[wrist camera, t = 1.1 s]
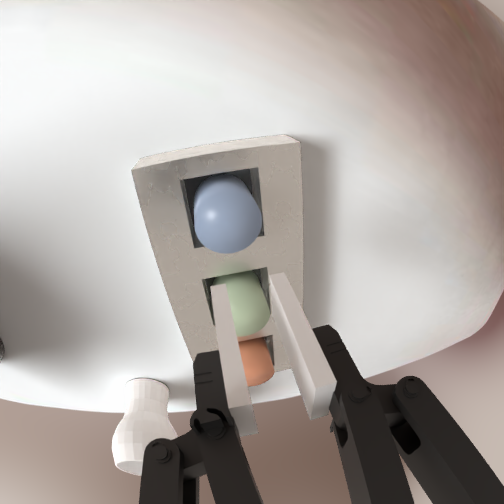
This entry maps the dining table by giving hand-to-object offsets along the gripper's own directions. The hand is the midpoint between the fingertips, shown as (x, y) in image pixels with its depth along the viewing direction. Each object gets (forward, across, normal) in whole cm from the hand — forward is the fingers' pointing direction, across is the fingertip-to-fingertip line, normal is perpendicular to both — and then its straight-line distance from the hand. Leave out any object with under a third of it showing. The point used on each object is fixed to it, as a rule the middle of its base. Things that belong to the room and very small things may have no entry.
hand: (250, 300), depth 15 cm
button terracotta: (+14, 0, -20) cm, 24 cm away
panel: (+16, 0, -10) cm, 19 cm away
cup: (+17, -18, -31) cm, 40 cm away
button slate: (+14, 0, 0) cm, 14 cm away
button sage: (+14, 0, -10) cm, 17 cm away
